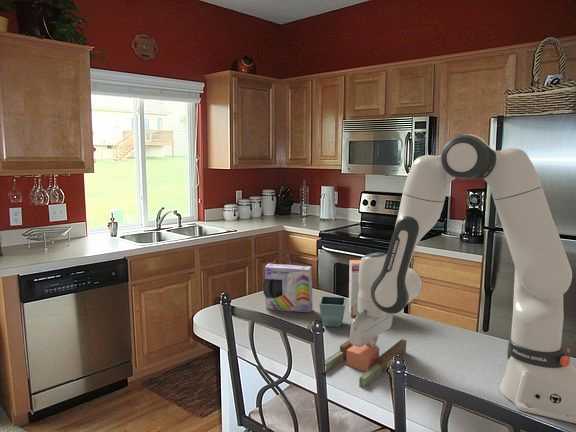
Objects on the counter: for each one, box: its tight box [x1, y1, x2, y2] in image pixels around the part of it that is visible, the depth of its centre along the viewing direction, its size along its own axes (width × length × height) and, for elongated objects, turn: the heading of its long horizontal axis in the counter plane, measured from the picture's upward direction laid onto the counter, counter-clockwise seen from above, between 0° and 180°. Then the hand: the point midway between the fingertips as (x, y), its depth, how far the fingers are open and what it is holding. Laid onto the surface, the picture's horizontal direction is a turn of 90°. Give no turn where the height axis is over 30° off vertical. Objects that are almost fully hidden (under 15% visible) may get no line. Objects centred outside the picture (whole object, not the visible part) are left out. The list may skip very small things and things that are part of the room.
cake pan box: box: [262, 263, 314, 313], centre depth 174 cm, size 19×5×18 cm, turn 73°
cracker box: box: [348, 259, 361, 318], centre depth 169 cm, size 14×6×21 cm, turn 92°
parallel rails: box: [324, 338, 407, 389], centre depth 132 cm, size 14×26×4 cm, turn 142°
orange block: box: [345, 344, 380, 372], centre depth 131 cm, size 7×7×4 cm
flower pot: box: [319, 295, 347, 328], centre depth 160 cm, size 9×9×9 cm
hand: (370, 350), depth 135 cm, fingers closed
